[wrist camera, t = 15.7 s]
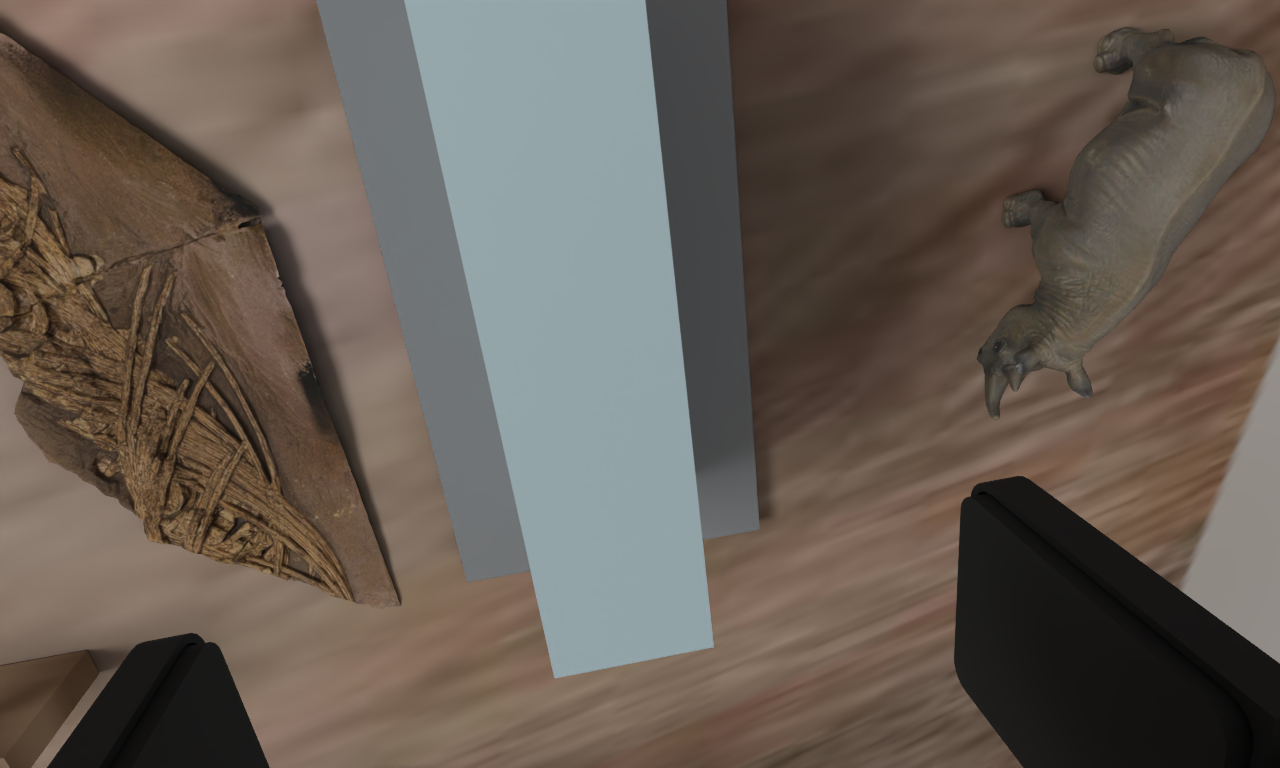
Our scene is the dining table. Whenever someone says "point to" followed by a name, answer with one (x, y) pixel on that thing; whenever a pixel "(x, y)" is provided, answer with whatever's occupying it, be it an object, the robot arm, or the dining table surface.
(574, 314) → the pale blue rectangular block
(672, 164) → the mat
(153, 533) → the fossil stone slab
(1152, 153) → the rhino figurine
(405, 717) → the dining table surface
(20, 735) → the open wooden box
